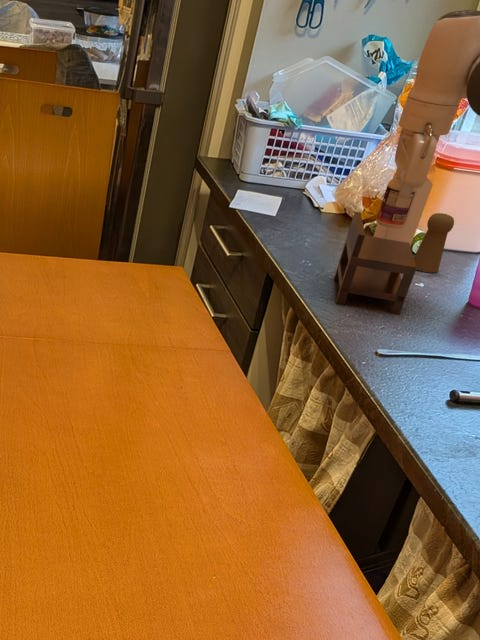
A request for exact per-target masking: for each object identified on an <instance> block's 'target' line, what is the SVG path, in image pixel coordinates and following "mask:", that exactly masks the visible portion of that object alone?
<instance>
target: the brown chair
mask: <svg viewBox="0 0 480 640" xmlns="http://www.w3.org/2000/svg"><path fill="white" fill-rule="evenodd" d="M353 213H354V214H353V217H352V219H351V224H350V226H349V229H348V233H347V235H346V238H345V241H344V245H343V248H342V251H341V254H340V257H339V260H338V263H337V266H336V270H335V273H334V275H333V281H337V282H338V286H339V289H338V293H337V296H336V299H335V304H336V305H339V306H345V304H346V301H347V298H348V295H349V294H351V295H357V296H363V297H369V298H374V299H381V300H385V301H391V302H392V303H391V307H390V309H389V314H391V315H395V316H400V314H401V311H402V308H403V306H404V303H405V300H406V297H407V295H408V292H409V289H410V287H411V284H412V281H413V279H414V276H415V273H416V268H417V267H416V264H415V261H414V255H413V251H412V246H411V247H410V244H409V243H407V242H401V241H395V240H389V239H383V238H377V237H373V236H370V235H366V232H365V228H364V222H363V217H362V216H363V215H362V212H361V211H354V212H353ZM400 273H401V274H402V275H401V274H400Z"/></svg>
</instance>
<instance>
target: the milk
mask: <svg viewBox="0 0 480 640" xmlns="http://www.w3.org/2000/svg"><path fill="white" fill-rule="evenodd" d="M395 173H396V171H395V172H394V173H393V176H392V179H395V177H396V176H395ZM433 185H434V182H432V181H431V180H430V178H429V177H427V178H426V180H425V183H424V185H423V186H422V187H421V188H418V189H417V192H416V195H415V198H414V201H413V204H412V207H411V210H410V212H409V215H408V218H407V221H406V224H405V226H404V227H403V228H389V227H385V226H382V225H379V224H378V223H376V228H375V230H374V234H373V235H372V237H377V238H383V239H389V240H395V241H401V242H407V243H409V244H410V247H411V248H412V244H413V241H414V238H415V235H416V233H417V230H418V227H419V224H420V221H421V219H422V216H423V213H424V211H425V207H426V204H427V202H428V199H429V196H430V193H431V191H432V188H433ZM400 275H401V273H400Z"/></svg>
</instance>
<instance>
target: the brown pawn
mask: <svg viewBox="0 0 480 640" xmlns="http://www.w3.org/2000/svg"><path fill="white" fill-rule="evenodd" d="M426 224H427V225H426V226H427V230H426V232H425V233H424V237H422V240H421V242H420V244H419V246H418V248H417V250H416V252H415V254H414V255H413V257H414V261H415V264H416V267H417V268H416V270H417V271H419V272H425V273H438V272H439V269H440V266H441V263H442V258H443V254H444V250H445V245H446V241H447V238H448V234H449V233H450V232H451V231H452V230H453V228H454V225H455V219H454V217H453V216H452V215H450V214H447V213H442V212H441V213H440V212H436V213H432V215H430V216H429V218H428V219H427V223H426Z"/></svg>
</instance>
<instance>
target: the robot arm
mask: <svg viewBox="0 0 480 640" xmlns="http://www.w3.org/2000/svg"><path fill="white" fill-rule="evenodd" d="M415 74H416V75H415V80H414V82H413V84H412V87H411V88H410V89H409V91H408V94H407V97H406V100H405V103H404V106H403V108H402V111H401V114H400V118H399V120H398V126H399V127H400V128H401V129H400V133H399V137H398V140H397V141H398V142H397V145H396V149H395V154H394V163H395V166H396V168H397V167H399V175H400V178H401V181H402V184H401V188H400V191H399V194H398V195H397V198H396V201H395V204H396V206H397V207H402V208H403V207H405V206H406V203H407V200H408V198H409V196H410V194H411V193H412V191H413V189H414V187H416V188H421V187H422V186H423V185H424V183H425V180H426V178H428V175H429V172H430V170H431V169H430V168H431V166H432V163H433V159H434V157H435V153H436V150H437V145H438V143H439V140H440V138H441V136H447V135H449V133H450V131H451V130H452V129H451V128H452V125H453V122H454V120H455V117H456V114H457V112H458V109H459V107H460V104H461V101H462V100H463V99H466V100H467V104H468V105H469V107H470V109H471V110H472V111H473V113H474V114H476V115H477V116H478V117H480V10H478V9H477V10H472V9H464V10H463V9H462V10H454V11H450V12H447V13H444V14H443V15H442V16H440V17H439V18H438V19H437V20H436V21H435V23H434V24H433V25H432V28H431V30H430V31H429V34H428V37H427V39H426V41H425V44H424V46H423V49H422V52H421V55H420V57H419V60H418V63H417V67H416V73H415Z"/></svg>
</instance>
